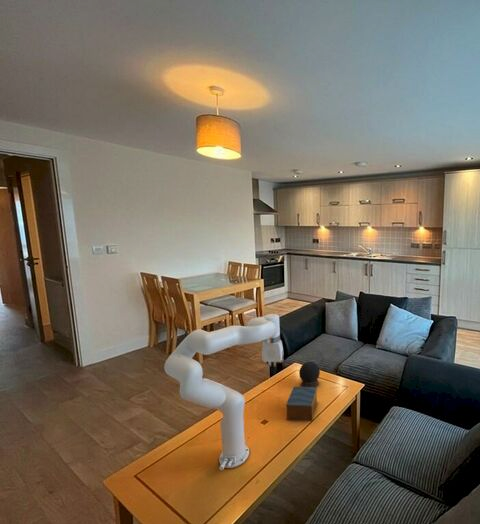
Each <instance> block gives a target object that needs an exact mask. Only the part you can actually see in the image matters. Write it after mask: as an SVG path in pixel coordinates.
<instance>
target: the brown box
mask: <svg viewBox="0 0 480 524" xmlns="http://www.w3.org/2000/svg"><path fill="white" fill-rule="evenodd" d="M317 403H318V388H317V389H316V393H315V396H314V399H313V403H312V406H311V407H305V406H286V420H287V421H304V422H305V421H308V422H311V421H313V418H314V415H315V411H316V408H317Z"/></svg>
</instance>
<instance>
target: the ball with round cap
mask: <svg viewBox="0 0 480 524" xmlns="http://www.w3.org/2000/svg"><path fill="white" fill-rule="evenodd" d="M320 373H321V371H320V367H319V365H318V364H317V363H316V362H313V361H306V362H304V363H303V364H302V365H301V366H300V368H299V372H298V374H299V375H298V376H299V378H300V380H301V383H300V387H317V388H318V386H319V381H318V379H319V377H320V375H321V374H320Z"/></svg>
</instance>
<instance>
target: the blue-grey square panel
mask: <svg viewBox="0 0 480 524" xmlns="http://www.w3.org/2000/svg"><path fill="white" fill-rule="evenodd" d="M316 389H317V390H318V386H317V387H302V386H293V387H292V389H291V392H290V394H289V397H288V398H287V401H286V404H285V406H286V407H287V406H305V407H311V406H312V403H313V399H314V396H315V393H316Z"/></svg>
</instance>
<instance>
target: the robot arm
mask: <svg viewBox="0 0 480 524" xmlns="http://www.w3.org/2000/svg"><path fill="white" fill-rule="evenodd" d="M280 328H281V326H280V316H279V314H277V313H267V314H266V315H263V316H257V317H253V318H251V319H250V320H248V321H247V325H246V326H245V325H244V326H243V325H229V326H225V327H223V328H219V329H215V330H212V331H206V330H203V329H201V328H199V329H195V330H192V331H191V332H190V333H188V335H187V336H186V337H185V338H184V339H183V340H182V341H181V342H180V343H179V344H178V346H177V347H176V348H175V349H174V350H173V351H172V353H171V354H170V355H169V356H168V357H167V359H166V360H165V363H164V366H163V369H164V371H165V374H166V375H167V376H169V377H171V378H172V379H174V380H176V381H178V382H179V396H180V398H181V399H182V400H184V401H186V402H189V403H192V404H194V405H197V406H201V407H203V408H206V409H212V410H213V409H215V410H217V411H219V412H220V413H221V414H222V418H221V420H220V436H221V448H222V449H221V453H220V455H219V458H218V463H219V467H218V470H219V471H223V470H224V469H233V468H237V467H239V466H240V465H242V464H243V463H245V462H246V461H247V459H248V458H249V455H250V449H249V447H248V446H247V445H246V436H245V421H244V412H245V406H246V399H245V397H244V395H242V393H240V391H238V390H235V389H233V388H231V387H229V386H227V385H224V384H222V383H219V382H217V381H214V380H211V379H209V378H206V377H205V378H203V373H204V372H203V371H204V370H203V367H202V365H201V363H200V362H199V361H197V360H196V359H194V356H195V355H196V354H197V353H199V354H201V355H205V356H209V355H212V354H215V353H219V352H221V351H223V350H226V349H229V348H231V347H234V346H240V345H249V344H256V343H260V342H262V346H261V361H262V362H263V363H266V364H267V365H268V366H269V371H270V374H271V375H272V374H273V375H274V374H276V372H277V371H278V364H281V363H284V361H285V359H284V354H285V353H284V346H283V341H282V340H281V329H280Z"/></svg>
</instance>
